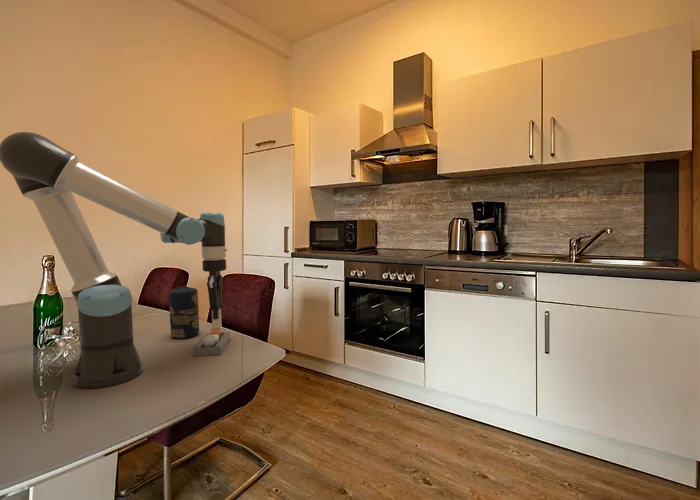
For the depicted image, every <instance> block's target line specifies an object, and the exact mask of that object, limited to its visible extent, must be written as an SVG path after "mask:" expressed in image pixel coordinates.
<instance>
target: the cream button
mask: <svg viewBox="0 0 700 500" xmlns="http://www.w3.org/2000/svg"><path fill="white" fill-rule="evenodd" d="M208 336H215V341H219V335H218V334H211V335H208Z"/></svg>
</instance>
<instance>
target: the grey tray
mask: <svg viewBox="0 0 700 500" xmlns="http://www.w3.org/2000/svg"><path fill="white" fill-rule="evenodd" d="M208 335H211V332H207V333H204V335H203V336H202V337H201V338H200V340H199V341H198V342H197V344H195V346H194V347H193V351H192V352H193V354H192V355H193V357H203V356H204V357H206V356H221V355H222V354H223V353H224V351H225V349H226V347H227V346H226V345H228V344H229V342H230V340H231V332H230V331H222V336H219V341H215V346H213V347H203V337H206V336H208ZM229 339H230V340H229ZM228 341H229V342H228ZM227 343H228V344H227ZM223 350H224V351H223Z"/></svg>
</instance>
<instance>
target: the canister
mask: <svg viewBox="0 0 700 500" xmlns="http://www.w3.org/2000/svg"><path fill="white" fill-rule="evenodd" d="M168 299H169V300H168V301H169V302H168V303H169V324H170V336H172V337H174V338H177V339H181V338H182V339H183V338H190V337H194V336H196V335H197V334H199V332H200V320H199V319H200V316H199V311H200V309H199V291H198V289H197V288H194V287H189V286H186V285H185V286H184V285H183V286H178V287H176V288H174V289H170V290H169V292H168Z"/></svg>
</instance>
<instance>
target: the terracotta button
mask: <svg viewBox="0 0 700 500" xmlns="http://www.w3.org/2000/svg"><path fill="white" fill-rule="evenodd" d="M222 332H223V327H221V328H216V329H212V328H211V329H210V333H211V334H218V335H219V336H222Z"/></svg>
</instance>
